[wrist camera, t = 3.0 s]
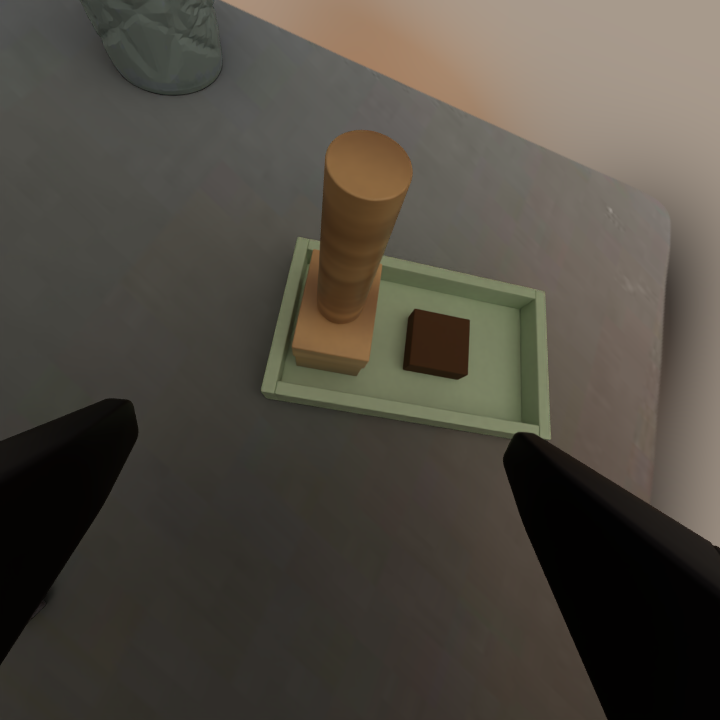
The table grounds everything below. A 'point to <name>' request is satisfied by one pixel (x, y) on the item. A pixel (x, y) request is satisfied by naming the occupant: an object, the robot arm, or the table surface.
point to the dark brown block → (437, 344)
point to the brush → (350, 251)
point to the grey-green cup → (160, 42)
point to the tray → (422, 391)
